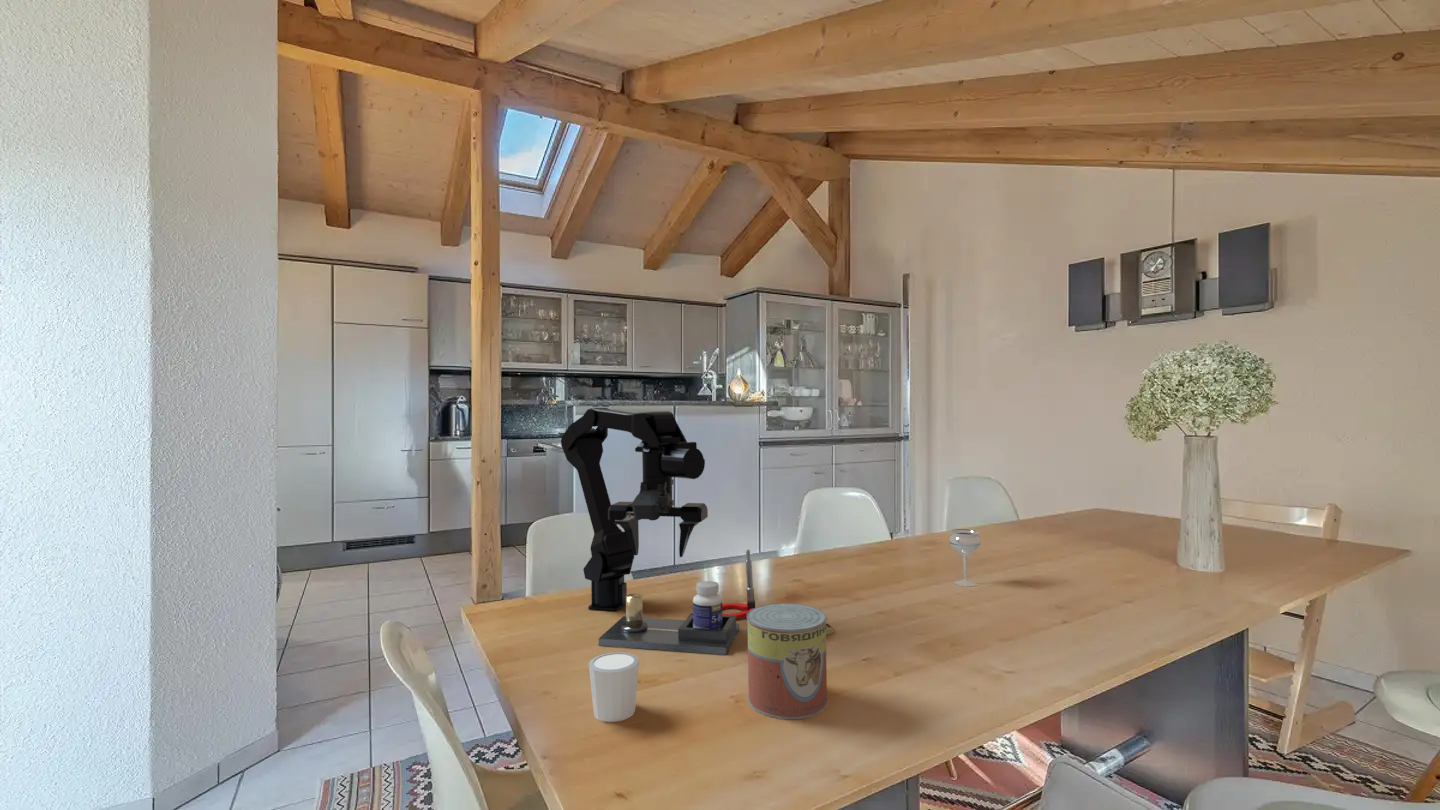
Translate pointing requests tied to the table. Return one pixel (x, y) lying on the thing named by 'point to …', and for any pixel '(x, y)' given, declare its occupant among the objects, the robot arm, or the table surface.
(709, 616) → the pill bottle
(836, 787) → the table surface
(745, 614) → the tow hook
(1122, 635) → the table surface
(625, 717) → the white cup
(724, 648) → the metal plate with knob
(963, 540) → the wineglass
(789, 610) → the canned food
